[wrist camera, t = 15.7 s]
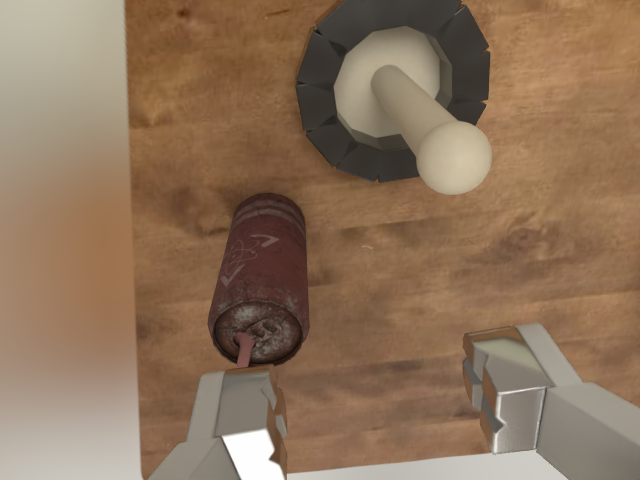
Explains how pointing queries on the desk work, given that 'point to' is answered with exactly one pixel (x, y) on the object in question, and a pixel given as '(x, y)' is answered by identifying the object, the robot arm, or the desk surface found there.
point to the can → (262, 284)
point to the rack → (410, 108)
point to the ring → (346, 33)
